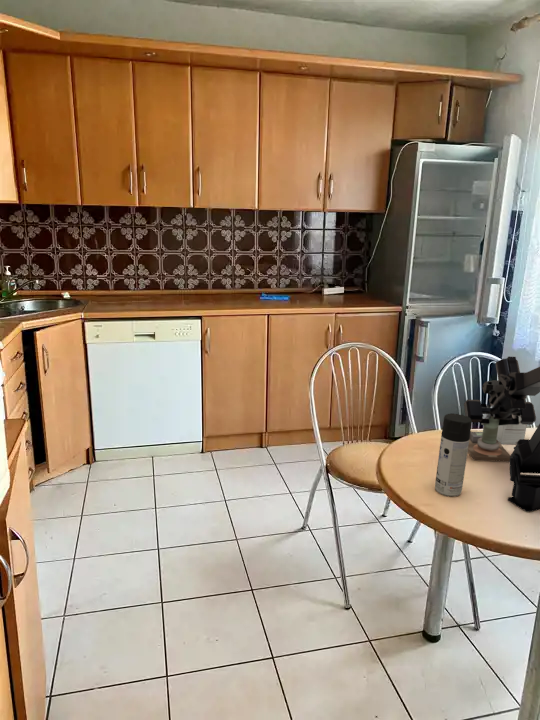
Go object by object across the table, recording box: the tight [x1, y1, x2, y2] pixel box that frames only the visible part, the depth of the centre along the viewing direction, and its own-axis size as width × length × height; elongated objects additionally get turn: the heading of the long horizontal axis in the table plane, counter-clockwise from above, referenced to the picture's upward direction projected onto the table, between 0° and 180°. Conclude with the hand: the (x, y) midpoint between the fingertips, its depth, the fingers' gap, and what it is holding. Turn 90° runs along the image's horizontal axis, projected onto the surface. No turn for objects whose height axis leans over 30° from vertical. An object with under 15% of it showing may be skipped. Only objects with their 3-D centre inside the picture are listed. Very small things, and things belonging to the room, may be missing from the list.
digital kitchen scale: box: [467, 430, 511, 463], centre depth 166 cm, size 14×11×4 cm
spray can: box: [434, 412, 473, 498], centre depth 139 cm, size 7×7×20 cm
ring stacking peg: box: [477, 403, 501, 451], centre depth 162 cm, size 6×6×14 cm
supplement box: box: [497, 415, 527, 446], centre depth 173 cm, size 7×7×13 cm
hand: (489, 423), depth 163 cm, fingers closed on ring stacking peg, 4 cm apart
